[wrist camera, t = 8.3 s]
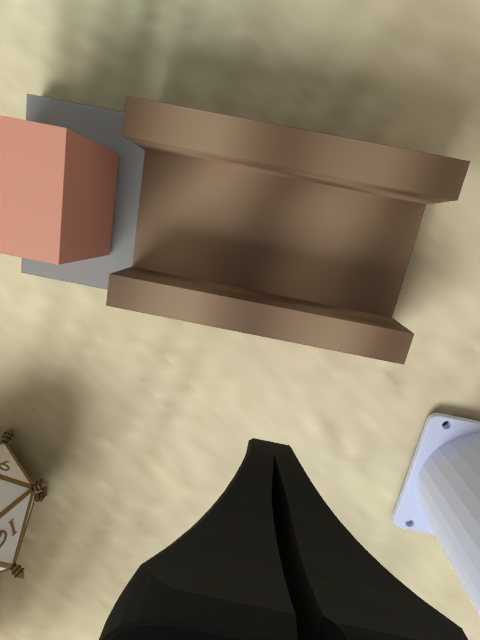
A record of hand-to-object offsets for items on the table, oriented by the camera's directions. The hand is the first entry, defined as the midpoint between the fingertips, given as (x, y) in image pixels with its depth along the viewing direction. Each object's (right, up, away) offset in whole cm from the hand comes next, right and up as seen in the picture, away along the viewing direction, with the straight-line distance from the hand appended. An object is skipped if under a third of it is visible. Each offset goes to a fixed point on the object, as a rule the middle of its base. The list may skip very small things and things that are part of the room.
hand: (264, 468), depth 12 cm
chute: (+1, +9, +8) cm, 12 cm away
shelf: (-9, +11, +8) cm, 16 cm away
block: (-10, +11, +7) cm, 16 cm away
